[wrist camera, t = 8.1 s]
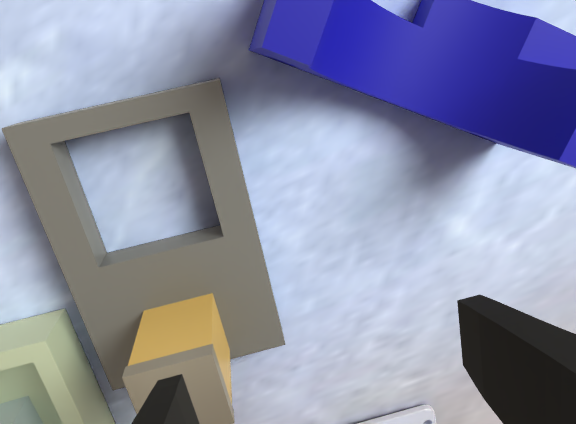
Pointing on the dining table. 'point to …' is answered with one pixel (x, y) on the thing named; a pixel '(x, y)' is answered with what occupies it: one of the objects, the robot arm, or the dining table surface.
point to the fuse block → (158, 256)
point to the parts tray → (50, 370)
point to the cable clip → (439, 65)
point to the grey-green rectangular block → (19, 412)
